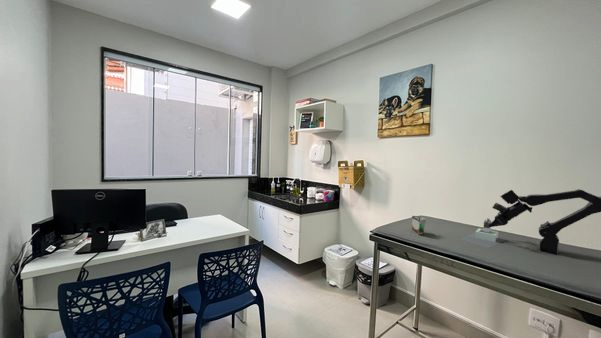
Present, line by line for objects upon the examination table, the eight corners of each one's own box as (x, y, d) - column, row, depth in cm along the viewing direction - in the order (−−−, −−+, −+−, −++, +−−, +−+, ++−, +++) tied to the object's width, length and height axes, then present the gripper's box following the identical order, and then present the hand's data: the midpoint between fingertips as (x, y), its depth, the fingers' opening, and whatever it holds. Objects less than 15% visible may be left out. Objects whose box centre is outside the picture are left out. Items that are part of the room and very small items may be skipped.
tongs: (489, 237, 153) (491, 218, 153) (488, 239, 151) (490, 220, 150) (483, 236, 156) (485, 218, 155) (482, 238, 153) (484, 219, 152)
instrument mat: (505, 240, 151) (505, 239, 151) (488, 248, 137) (488, 247, 137) (476, 232, 164) (476, 232, 164) (457, 239, 150) (457, 239, 150)
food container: (429, 236, 156) (430, 220, 155) (419, 235, 156) (420, 220, 155) (420, 230, 168) (420, 215, 168) (411, 229, 168) (411, 215, 168)
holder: (497, 238, 153) (498, 231, 153) (495, 242, 146) (495, 235, 146) (478, 234, 160) (478, 228, 160) (475, 237, 153) (475, 231, 153)
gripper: (505, 197, 153) (482, 211, 162) (501, 201, 140) (476, 216, 149) (521, 212, 148) (497, 226, 157) (518, 217, 135) (492, 232, 144)
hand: (490, 224), depth 152 cm, fingers open, 9 cm apart
